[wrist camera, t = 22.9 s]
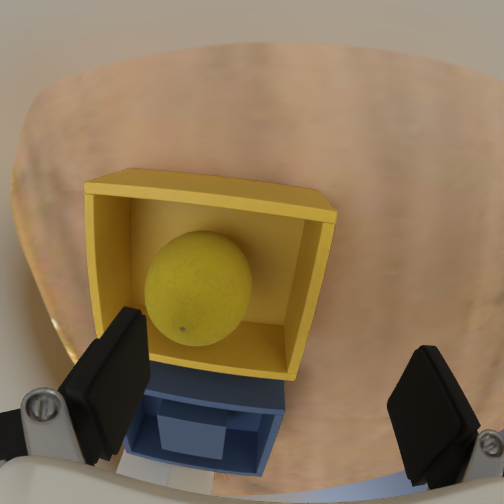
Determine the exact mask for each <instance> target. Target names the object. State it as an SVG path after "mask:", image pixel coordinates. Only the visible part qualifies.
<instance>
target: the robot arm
mask: <svg viewBox="0 0 504 504" xmlns="http://www.w3.org/2000/svg"><path fill="white" fill-rule="evenodd" d="M150 375H151V371H150V360H149V348H148V334H147V318H146V315H143V314H142V312H141V310H140V309H136V308H131V307H126V306H124V307H123V308H122V309H121V311H120V312H119V313H118V314H117V316H116V317H115V318H114V320H113V321H112V322H111V324H110V325H109V326H108V328H107V329H106V330H105V332H104V333H103V334H102V336H101V337H100V338H97V339H95V340H94V341H93V342H92V343H91V344H90V346H89V347H88V348H87V350H86V351H85V352H84V354H83V355H82V356H81V358H80V359H79V360H78V362H77V363H76V365H75V366H74V367H73V369H72V370H71V372H70V373H69V374H68V376H67V377H66V379H65V380H64V382H63V383H62V384H61V386H60V387H59V389H58V390H57V391H56V390H54V389H51V388H37V389H34V390H32V391H30V392H29V393H27V394H26V395H25V396H24V398H23V400H22V402H21V408H20V409H16V410H11V411H7V412H2V413H0V504H504V438H503V437H502V436H501V435H500V434H499V433H498V432H496V431H494V430H491V429H486V430H483V431H481V432H480V433H479V434H478V432H477V430H478V429H479V427H480V426H481V425H480V423H479V421H478V419H477V417H476V415H475V413H474V411H473V410H472V408H471V406H470V404H469V402H468V400H467V398H466V397H465V395H464V393H463V391H462V389H461V387H460V386H459V384H458V382H457V380H456V379H455V377H454V375H453V373H452V372H451V370H450V368H449V367H448V365H447V363H446V361H445V360H444V358H443V356H442V355H441V353H440V352H439V350H438V348H437V347H436V346H427V345H422V346H420V347H419V348H418V349H416V350H415V351H414V353H413V355H412V357H411V359H410V361H409V363H408V365H407V367H406V369H405V371H404V372H403V374H402V376H401V378H400V380H399V382H398V383H397V385H396V387H395V389H394V391H393V392H392V394H391V396H390V397H389V399H388V402H387V410H388V413H389V416H390V419H391V422H392V426H393V429H394V432H395V436H396V439H397V442H398V446H399V449H400V453H401V456H402V460H403V464H404V467H405V471H406V475H407V478H408V479H409V480H411V483H412V486H413V487H414V486H419V485H424V484H426V483H427V484H428V488H427V490H426V491H424V492H419V493H413V494H408V495H403V496H396V497H390V498H382V499H373V500H364V501H353V502H337V503H277V502H262V501H250V500H240V499H232V498H224V497H217V496H211V495H205V494H199V493H194V492H189V491H184V490H179V489H175V488H170V487H166V486H161V485H157V484H153V483H149V482H145V481H142V480H138V479H134V478H131V477H128V476H124V475H121V474H118V473H114V472H111V471H107V470H104V469H101V468H97V467H95V465H94V464H96V463H97V462H98V459H99V458H101V459H104V460H107V461H110V459H111V456H112V454H113V455H116V454H118V452H119V450H120V447H121V445H122V443H123V440H124V438H125V436H126V433H127V431H128V429H129V426H130V424H131V422H132V419H133V417H134V415H135V412H136V410H137V408H138V406H139V403H140V401H141V399H142V397H143V394H144V392H145V390H146V388H147V385H148V383H149V381H150Z"/></svg>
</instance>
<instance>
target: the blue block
mask: <svg viewBox="0 0 504 504" xmlns="http://www.w3.org/2000/svg"><path fill="white" fill-rule="evenodd" d="M227 418H228V410H227V409H219V408H213V407H206V406H200V405H194V404H189V403H183V402H178V401H173V400H168V399H162V402H161V404H160V407H159V410H158V413H157V419H158V426H159V433H160V440H161V446H162V449H164V450H169V451H173V452H178V453H183V454H189V455H194V456H200V457H207V458H213V459H220V460H221V459H222V456H223V448H224V441H225V434H226V426H227Z"/></svg>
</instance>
